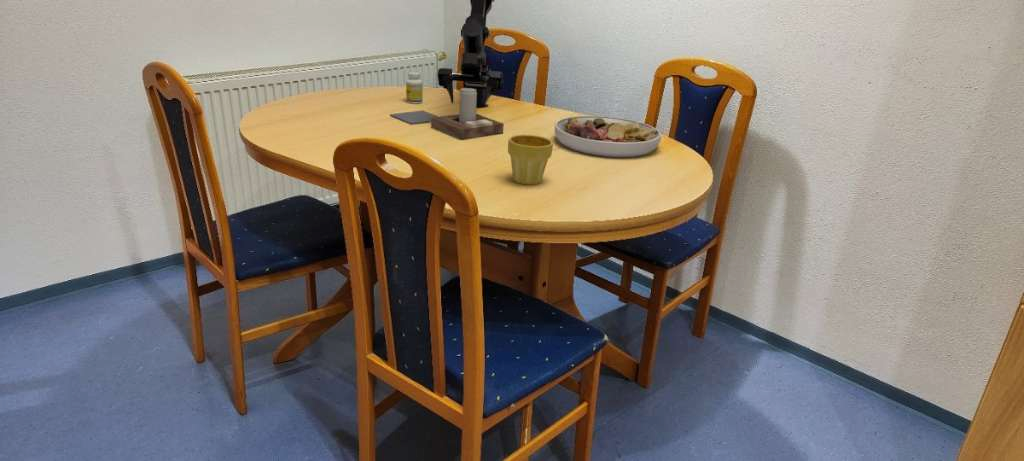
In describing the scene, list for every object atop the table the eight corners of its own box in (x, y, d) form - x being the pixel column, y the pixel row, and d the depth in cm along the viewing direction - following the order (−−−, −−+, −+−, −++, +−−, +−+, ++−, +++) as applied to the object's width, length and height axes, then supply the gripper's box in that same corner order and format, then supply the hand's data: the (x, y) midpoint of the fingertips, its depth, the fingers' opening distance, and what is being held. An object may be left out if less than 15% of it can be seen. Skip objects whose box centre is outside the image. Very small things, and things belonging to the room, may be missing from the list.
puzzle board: (472, 122, 206) (472, 109, 205) (503, 133, 196) (503, 120, 194) (431, 127, 197) (431, 114, 195) (461, 140, 187) (461, 126, 185)
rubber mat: (423, 111, 214) (423, 110, 214) (444, 120, 206) (444, 118, 206) (390, 115, 207) (390, 114, 207) (411, 124, 199) (411, 123, 198)
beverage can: (475, 129, 199) (477, 88, 194) (475, 133, 194) (476, 91, 190) (459, 128, 198) (460, 87, 194) (458, 132, 194) (459, 90, 189)
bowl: (580, 126, 211) (583, 101, 208) (672, 144, 197) (677, 118, 194) (534, 146, 187) (536, 118, 184) (635, 168, 173) (640, 138, 170)
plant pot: (558, 181, 159) (562, 141, 155) (530, 190, 151) (533, 148, 148) (525, 170, 165) (528, 131, 161) (496, 179, 158) (498, 138, 154)
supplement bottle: (405, 100, 228) (405, 71, 224) (420, 100, 229) (421, 71, 226) (407, 104, 223) (407, 74, 219) (423, 104, 225) (424, 74, 221)
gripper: (439, 39, 192) (433, 85, 186) (504, 43, 192) (500, 89, 186) (441, 63, 202) (436, 107, 196) (503, 67, 202) (500, 111, 196)
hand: (468, 103), depth 193 cm, fingers open, 9 cm apart
